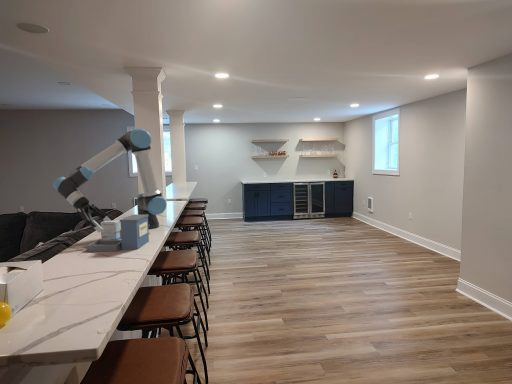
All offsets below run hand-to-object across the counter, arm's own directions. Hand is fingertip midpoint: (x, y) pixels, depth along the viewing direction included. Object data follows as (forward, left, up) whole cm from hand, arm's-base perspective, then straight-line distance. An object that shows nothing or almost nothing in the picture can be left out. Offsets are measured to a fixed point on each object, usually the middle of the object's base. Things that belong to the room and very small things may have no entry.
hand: (107, 228), depth 172 cm
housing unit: (+6, +18, -8) cm, 20 cm away
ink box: (0, +2, -8) cm, 8 cm away
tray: (+12, +5, -8) cm, 15 cm away
